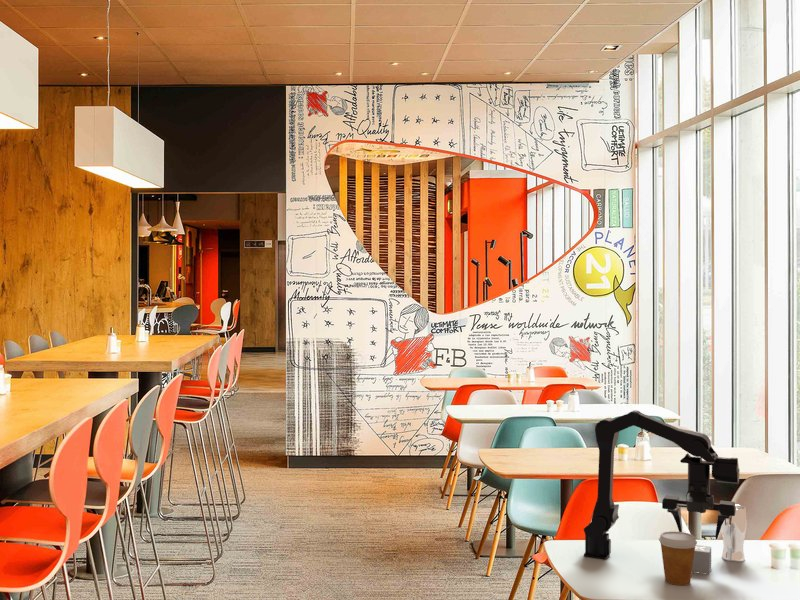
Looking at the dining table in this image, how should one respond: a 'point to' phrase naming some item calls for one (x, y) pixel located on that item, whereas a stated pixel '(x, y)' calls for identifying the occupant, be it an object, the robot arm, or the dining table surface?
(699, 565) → the grey cube
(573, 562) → the dining table surface
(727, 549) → the beer glass
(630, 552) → the dining table surface
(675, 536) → the disposable coffee cup
